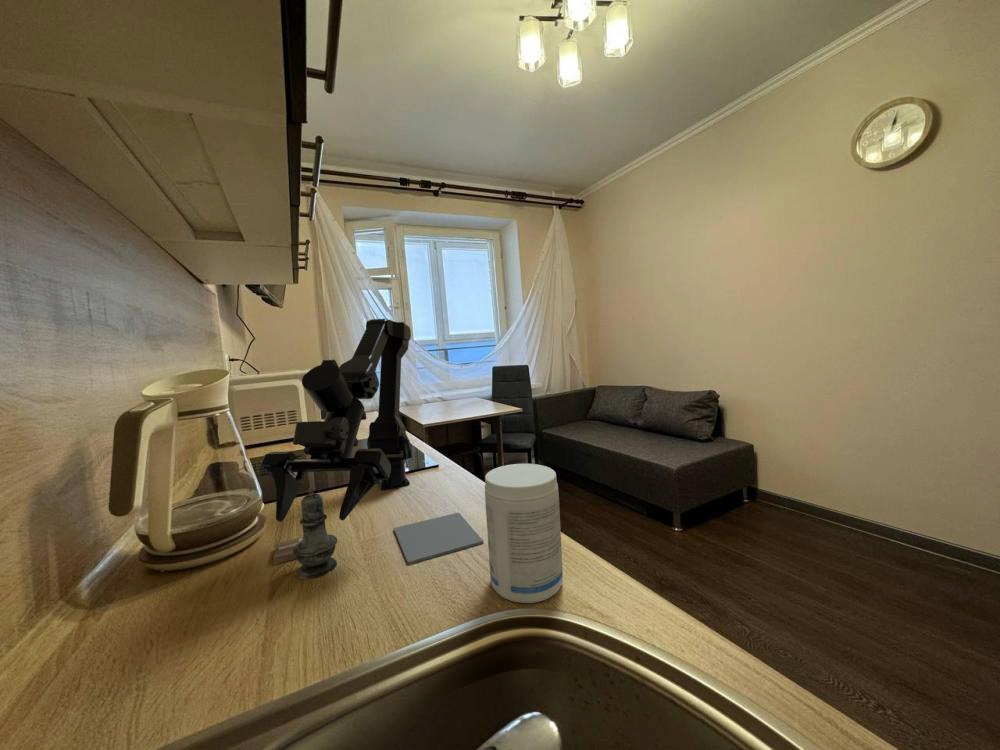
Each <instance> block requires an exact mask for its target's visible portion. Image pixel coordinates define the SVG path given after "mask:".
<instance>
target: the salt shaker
mask: <svg viewBox="0 0 1000 750" xmlns="http://www.w3.org/2000/svg"><path fill="white" fill-rule="evenodd" d="M314 491H315V490H314V489H313V488H309V490H308V494H306V495H305V496H304V497H302V499H301V502H300V506H301V518H302V519H300V521H299V524H300V525H301V526H302V537H303V539H302V541H301V542H299V543H298V544H297V545H296V546H295V547H294V548H293V553H294V554H295V555H296V558H297V559H296V560H297V562H298V563H299V564H300V565H301V566H300V567H299V568H298V569H297V574H296V575H297V576H298V578H300V579H304V580H309V579H310V580H311V579H316V578H319V577H323V576H325V575H327V574H329V573H330V572H332V571H333V570H335V568H336V567H337V565H338V561H337V559H336V558H334V557H332V556H333V555H334V552H335V550H336V545H337V544H338V537H337V536H335V535H332V534H328V531H327V529H326V528H327V526H326V520H327V518H328V515H326V514H325V511H324V500H323V496H322V495H320V493H319V494H318V493H315V492H314Z"/></svg>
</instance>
